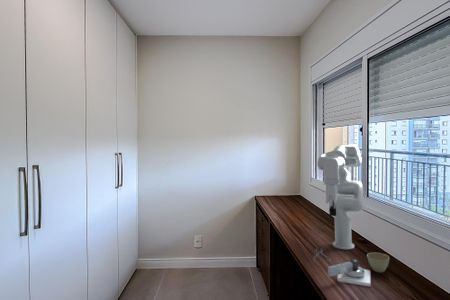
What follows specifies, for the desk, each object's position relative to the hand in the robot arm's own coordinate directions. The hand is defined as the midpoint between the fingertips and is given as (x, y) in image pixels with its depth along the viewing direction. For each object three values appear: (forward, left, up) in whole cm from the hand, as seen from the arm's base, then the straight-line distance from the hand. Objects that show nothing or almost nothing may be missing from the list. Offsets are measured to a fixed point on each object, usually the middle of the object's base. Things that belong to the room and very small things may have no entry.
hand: (332, 215), depth 151 cm
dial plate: (+10, +10, -27) cm, 31 cm away
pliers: (-10, -10, -28) cm, 31 cm away
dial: (+14, +6, -25) cm, 30 cm away
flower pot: (-2, +21, -27) cm, 34 cm away
